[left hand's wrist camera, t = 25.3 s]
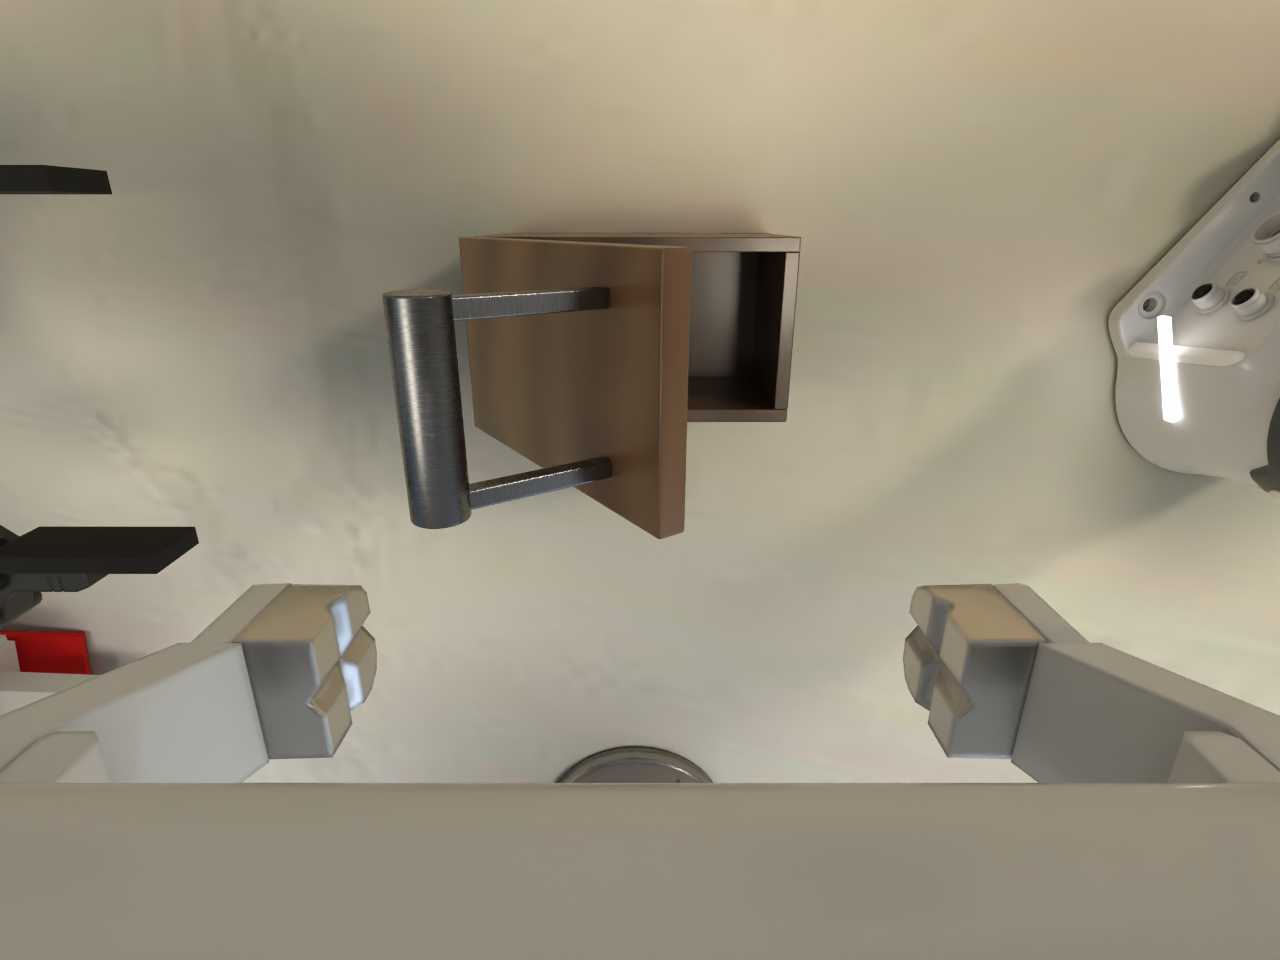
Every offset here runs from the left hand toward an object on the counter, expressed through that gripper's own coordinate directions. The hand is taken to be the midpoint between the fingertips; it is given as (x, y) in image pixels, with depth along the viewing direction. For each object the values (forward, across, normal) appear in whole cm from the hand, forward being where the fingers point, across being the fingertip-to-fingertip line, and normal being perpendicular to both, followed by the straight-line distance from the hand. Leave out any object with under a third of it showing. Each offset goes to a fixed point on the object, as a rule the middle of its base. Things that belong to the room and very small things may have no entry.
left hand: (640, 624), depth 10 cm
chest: (+37, 0, 0) cm, 37 cm away
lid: (+20, -3, 0) cm, 21 cm away
